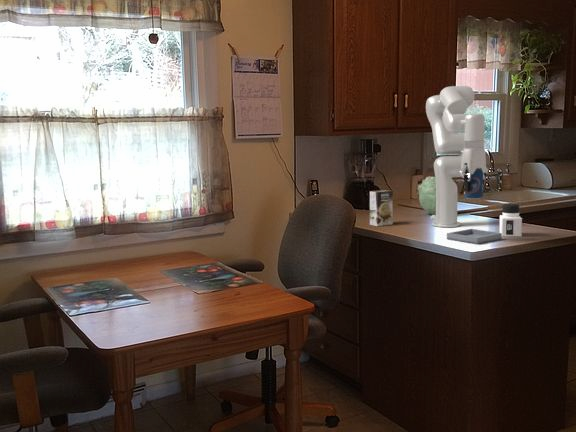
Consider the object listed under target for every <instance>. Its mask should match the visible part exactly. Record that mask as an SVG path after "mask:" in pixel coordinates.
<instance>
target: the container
mask: <svg viewBox="0 0 576 432" xmlns="http://www.w3.org/2000/svg"><path fill="white" fill-rule="evenodd" d="M501 207H502V208H501V209H502V215H501V214H500V215H499V229H498V230H499V231H498V233H502V237H522V232H523V230H522V229H523V217H521V216H520V205H519V204H517V203H511V202H509V203H504V204H503V205H502V206H501Z"/></svg>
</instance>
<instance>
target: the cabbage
mask: <svg viewBox="0 0 576 432" xmlns="http://www.w3.org/2000/svg"><path fill="white" fill-rule="evenodd" d="M417 191H418V193H417V195H418V201H419V204H420V205H421V207H422V209H423V210H424V211H425V212H426V213H427V214H429V215H431V216H432V215H436V179H435V176H430V175H429V176H426V178H425V179H422V181H421V184H418V185H417Z"/></svg>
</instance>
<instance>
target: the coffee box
mask: <svg viewBox="0 0 576 432" xmlns="http://www.w3.org/2000/svg"><path fill="white" fill-rule="evenodd" d="M393 192H394V191H393V190H386V189H384V190H383V189H382V190H371V191H369V226H375V227H382V226H383V225H384V226H391V225H393V222H394V221H393V217H394V216H393V206H394V205H393V204H394V203H393ZM384 226H383V227H384Z"/></svg>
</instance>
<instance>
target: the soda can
mask: <svg viewBox="0 0 576 432" xmlns="http://www.w3.org/2000/svg"><path fill="white" fill-rule="evenodd" d="M467 173H469V172H467ZM468 176H469V175H467V177H468ZM470 181H471V191H470V192H468V191H464V196H465V198H466V199H467V200H480V199H482V198H483V196H484V190H483V171H482V168H480V169H476V170H475V172H474V174H472V177H471V180H470Z"/></svg>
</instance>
